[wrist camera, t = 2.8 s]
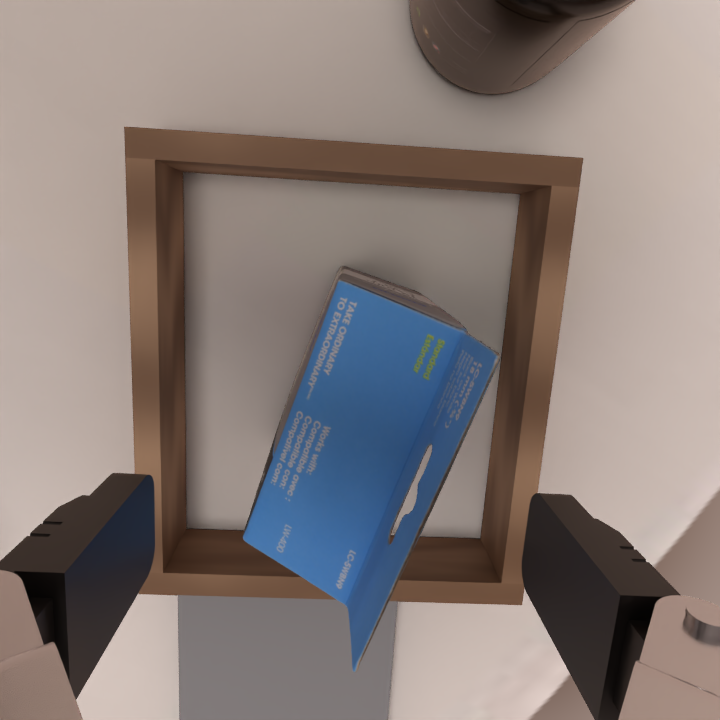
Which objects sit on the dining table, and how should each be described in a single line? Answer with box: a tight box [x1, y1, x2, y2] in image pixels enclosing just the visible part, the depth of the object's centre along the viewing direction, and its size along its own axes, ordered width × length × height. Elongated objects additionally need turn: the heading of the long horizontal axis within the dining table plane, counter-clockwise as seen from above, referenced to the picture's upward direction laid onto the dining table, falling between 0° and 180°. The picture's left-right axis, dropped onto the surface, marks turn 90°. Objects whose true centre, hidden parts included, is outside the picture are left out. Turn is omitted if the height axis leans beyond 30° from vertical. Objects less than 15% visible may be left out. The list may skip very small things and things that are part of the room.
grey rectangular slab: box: [178, 595, 397, 720], centre depth 27 cm, size 12×10×2 cm
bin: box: [124, 127, 583, 605], centre depth 23 cm, size 18×16×4 cm
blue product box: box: [243, 266, 501, 672], centre depth 18 cm, size 9×4×12 cm, turn 159°
